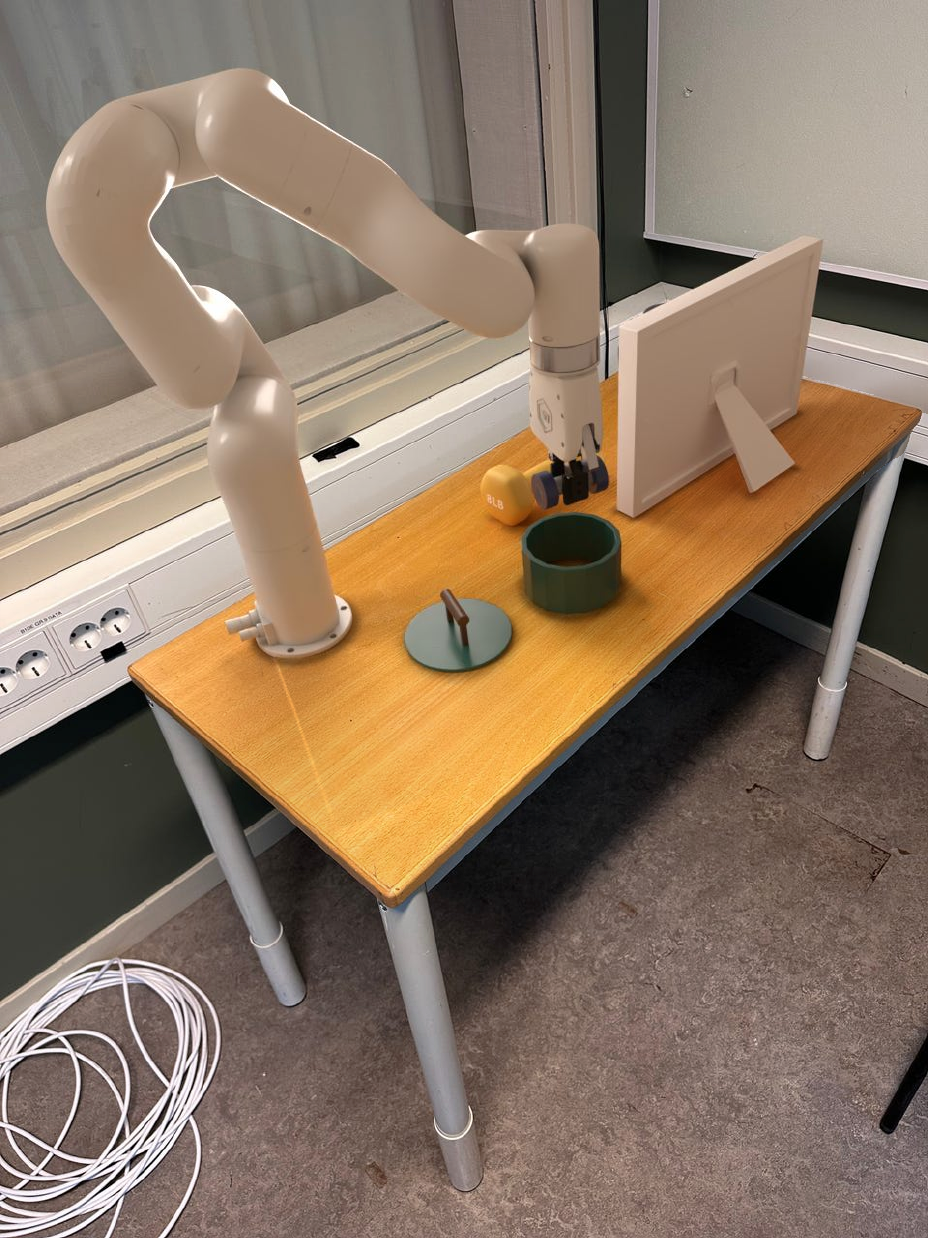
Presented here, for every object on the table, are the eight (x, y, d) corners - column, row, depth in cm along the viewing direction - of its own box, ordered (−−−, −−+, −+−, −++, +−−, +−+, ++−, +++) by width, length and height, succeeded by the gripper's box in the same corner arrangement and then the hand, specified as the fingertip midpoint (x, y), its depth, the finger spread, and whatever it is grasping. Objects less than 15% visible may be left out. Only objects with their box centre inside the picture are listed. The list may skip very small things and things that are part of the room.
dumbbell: (516, 537, 126) (513, 488, 121) (476, 513, 132) (471, 465, 127) (611, 484, 134) (611, 436, 129) (569, 464, 140) (568, 416, 135)
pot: (550, 628, 110) (547, 581, 106) (509, 575, 120) (505, 529, 115) (637, 598, 113) (639, 550, 108) (591, 548, 122) (591, 502, 118)
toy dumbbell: (547, 516, 105) (546, 484, 102) (531, 499, 108) (529, 467, 106) (609, 496, 107) (609, 464, 104) (591, 480, 110) (591, 448, 107)
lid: (426, 690, 104) (420, 653, 101) (391, 624, 114) (384, 589, 110) (530, 653, 107) (527, 616, 104) (487, 593, 117) (483, 557, 113)
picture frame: (780, 407, 147) (804, 234, 129) (849, 430, 139) (885, 250, 121) (616, 510, 129) (618, 325, 111) (686, 543, 121) (700, 350, 103)
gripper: (503, 333, 101) (514, 474, 112) (567, 386, 89) (572, 537, 101) (562, 317, 102) (567, 457, 114) (633, 367, 91) (631, 518, 102)
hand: (570, 494), depth 107 cm, fingers closed on toy dumbbell, 2 cm apart
